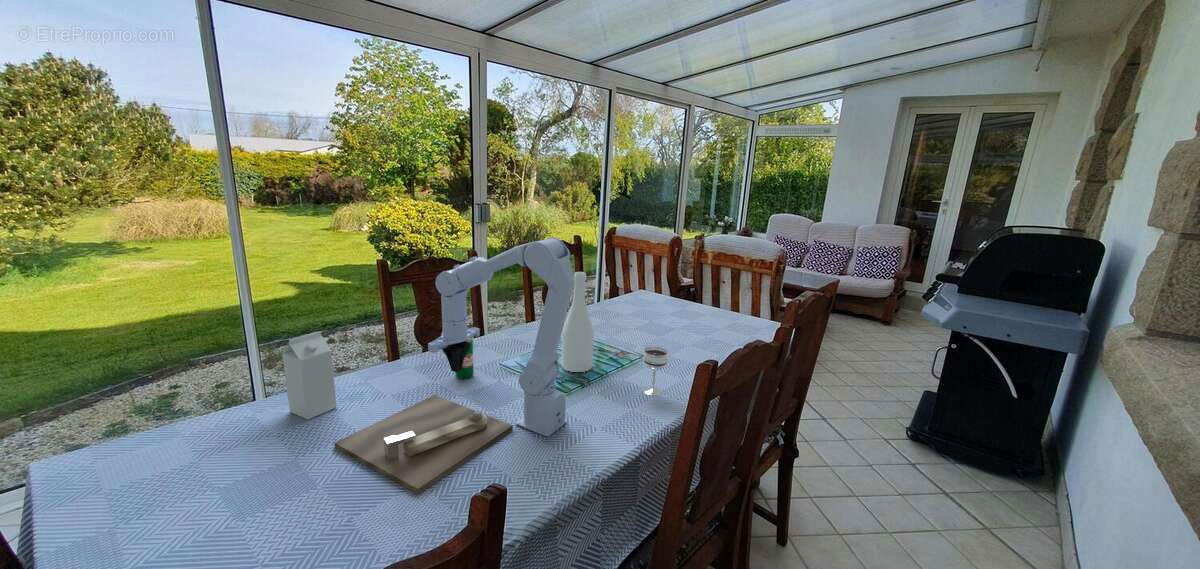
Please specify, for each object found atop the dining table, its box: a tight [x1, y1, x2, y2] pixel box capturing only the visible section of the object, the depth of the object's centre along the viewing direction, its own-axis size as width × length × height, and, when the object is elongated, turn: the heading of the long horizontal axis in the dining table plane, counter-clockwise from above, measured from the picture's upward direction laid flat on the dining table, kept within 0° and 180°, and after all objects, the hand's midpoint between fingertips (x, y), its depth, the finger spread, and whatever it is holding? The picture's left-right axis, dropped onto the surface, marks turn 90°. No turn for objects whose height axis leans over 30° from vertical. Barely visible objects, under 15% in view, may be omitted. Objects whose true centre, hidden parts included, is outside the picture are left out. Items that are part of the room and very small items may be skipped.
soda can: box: [454, 337, 475, 380], centre depth 130 cm, size 5×5×12 cm
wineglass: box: [642, 346, 669, 396], centre depth 126 cm, size 7×7×12 cm
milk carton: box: [282, 331, 338, 421], centre depth 107 cm, size 7×7×19 cm
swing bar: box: [403, 410, 487, 456], centre depth 98 cm, size 18×4×3 cm, turn 134°
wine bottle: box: [561, 271, 595, 373], centre depth 137 cm, size 10×10×30 cm
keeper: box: [384, 431, 416, 461], centre depth 92 cm, size 6×2×4 cm, turn 130°
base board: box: [334, 394, 514, 495], centre depth 100 cm, size 26×26×1 cm
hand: (456, 370), depth 113 cm, fingers closed
